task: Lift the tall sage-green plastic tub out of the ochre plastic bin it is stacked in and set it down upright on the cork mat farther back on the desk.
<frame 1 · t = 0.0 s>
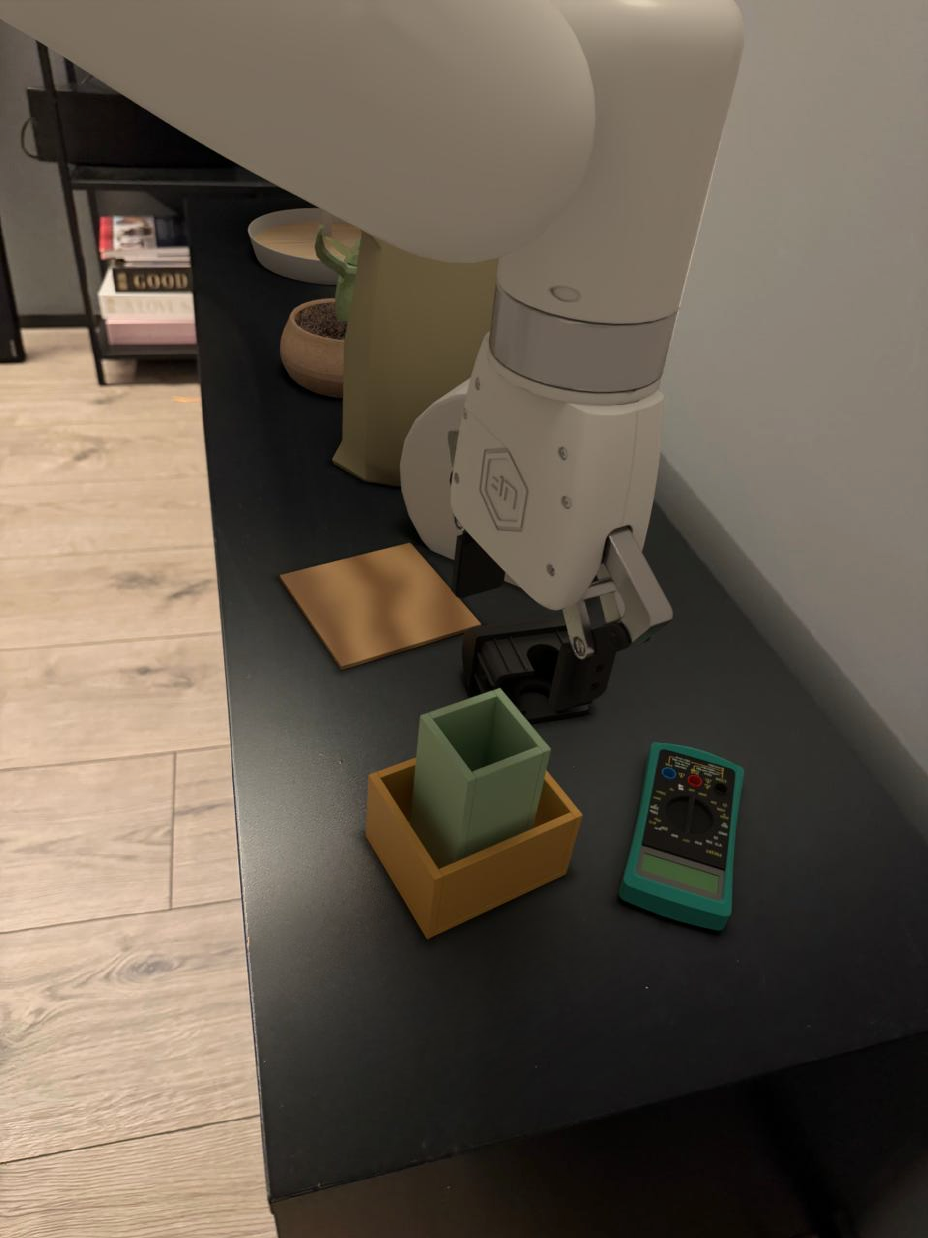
hand: (523, 641, 49), 22 cm above the table, tool pointing down, fingers open, 9 cm apart
sage tub: (466, 849, 65), point 1 cm above the table, touching ochre bin
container: (433, 458, 108), on the table
digital multimeter: (679, 842, 68), on the table
potted plant: (366, 377, 123), on the table
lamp: (331, 259, 157), on the table
cork mat: (378, 603, 86), on the table
alarm clock: (501, 556, 94), on the table
end cap: (524, 695, 79), on the table
ochre bin: (465, 855, 65), on the table
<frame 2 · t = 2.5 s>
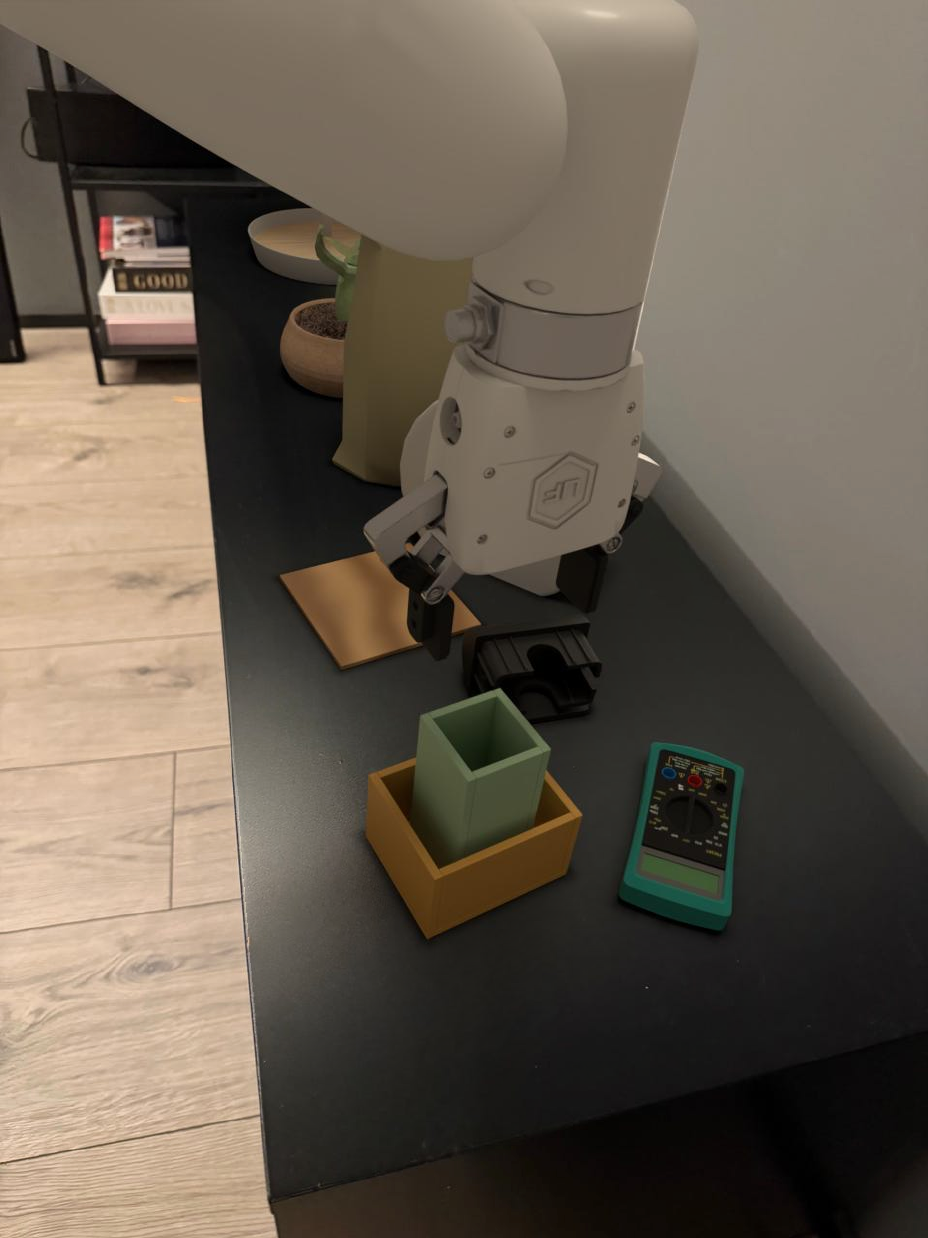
hand: (504, 620, 52), 22 cm above the table, tool pointing down, fingers open, 9 cm apart
nothing on the table moved.
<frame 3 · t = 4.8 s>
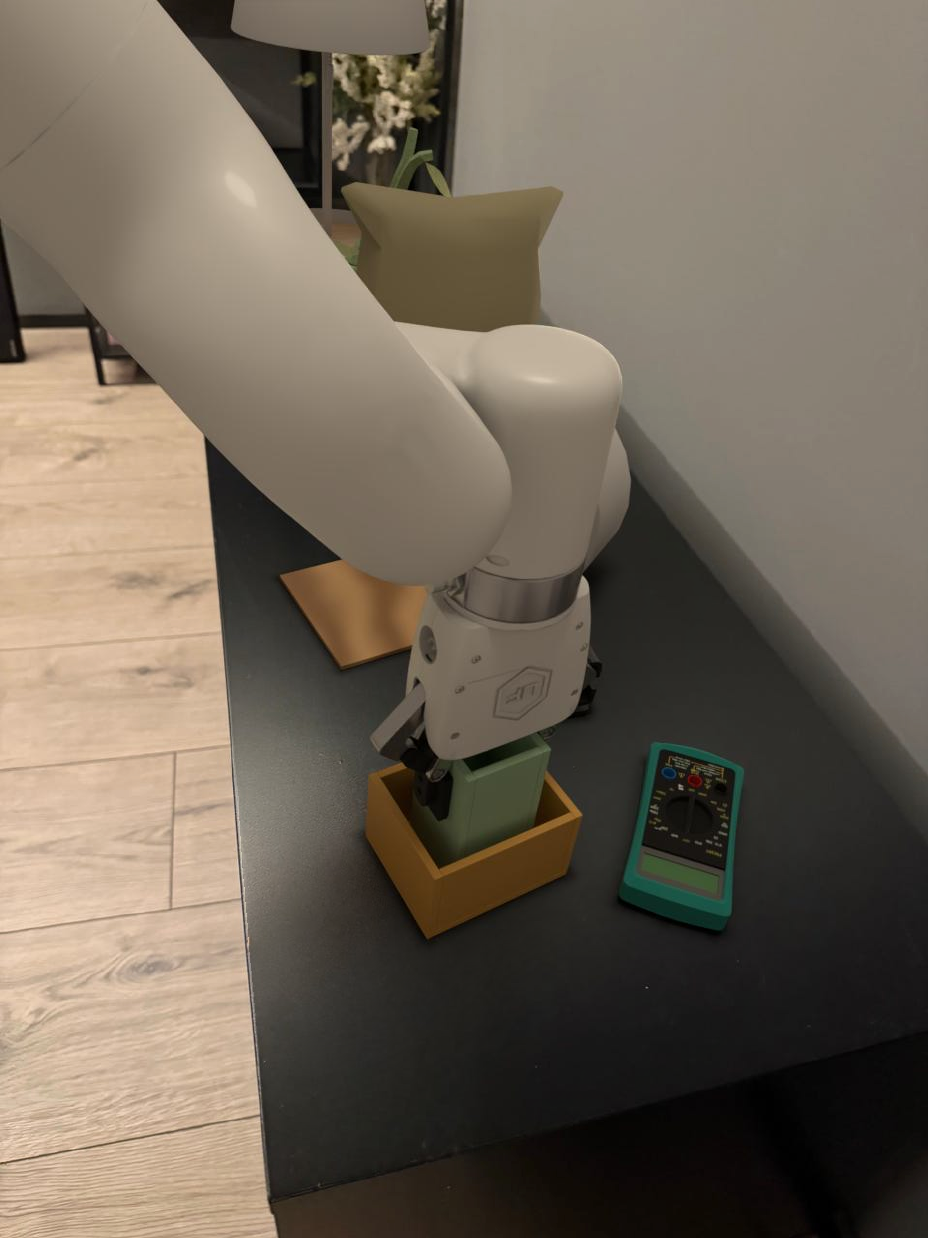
hand: (476, 784, 60), 8 cm above the table, tool pointing down, fingers closed on sage tub, 6 cm apart
sage tub: (466, 849, 65), point 1 cm above the table, touching gripper, ochre bin
everything else where it was.
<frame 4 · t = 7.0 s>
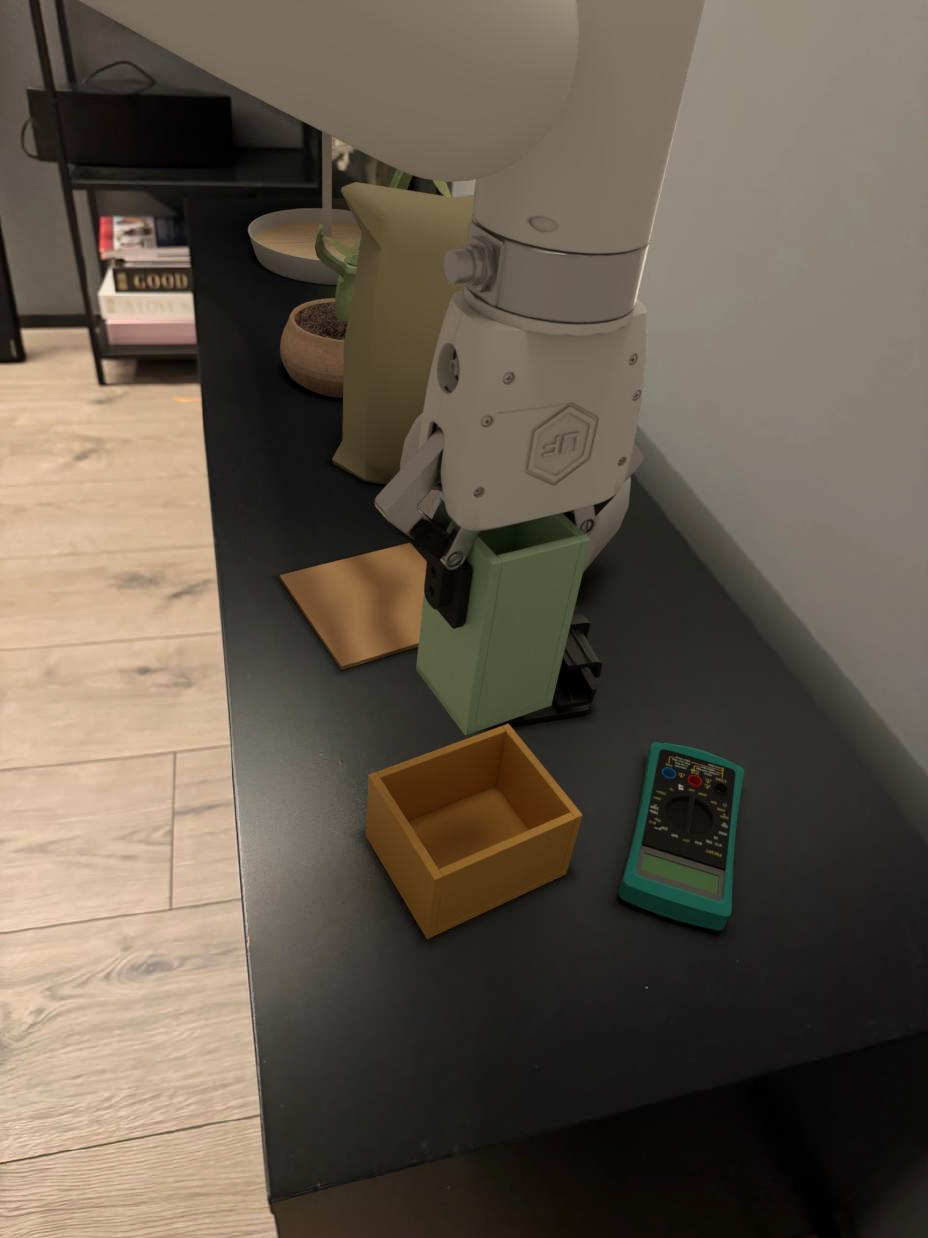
hand: (498, 595, 51), 23 cm above the table, tool pointing down, fingers closed on sage tub, 6 cm apart
sage tub: (482, 687, 55), point 16 cm above the table, touching gripper
everything else where it was.
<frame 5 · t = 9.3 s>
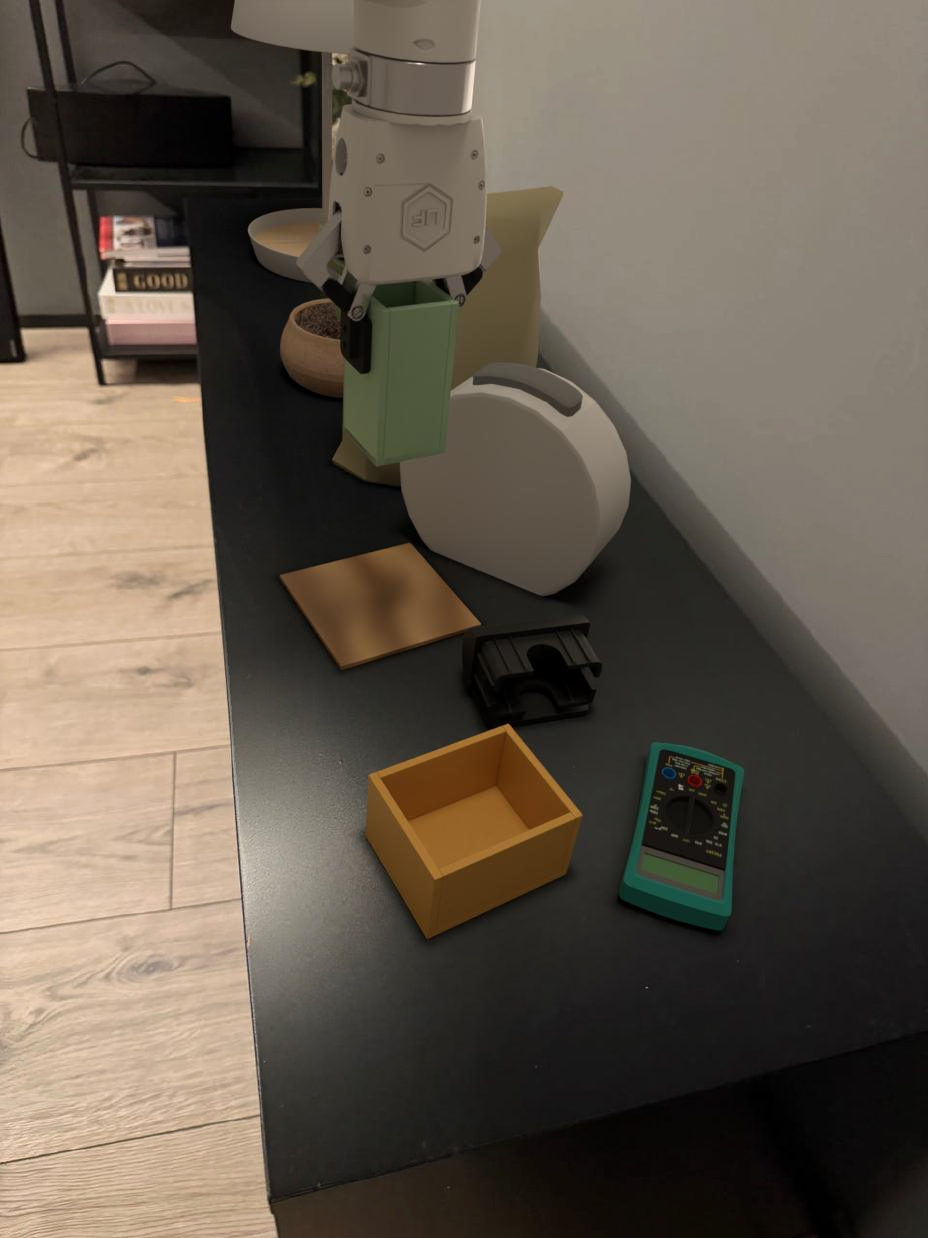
hand: (398, 357, 69), 25 cm above the table, tool pointing down, fingers closed on sage tub, 6 cm apart
sage tub: (393, 441, 73), point 18 cm above the table, touching gripper
everything else where it was.
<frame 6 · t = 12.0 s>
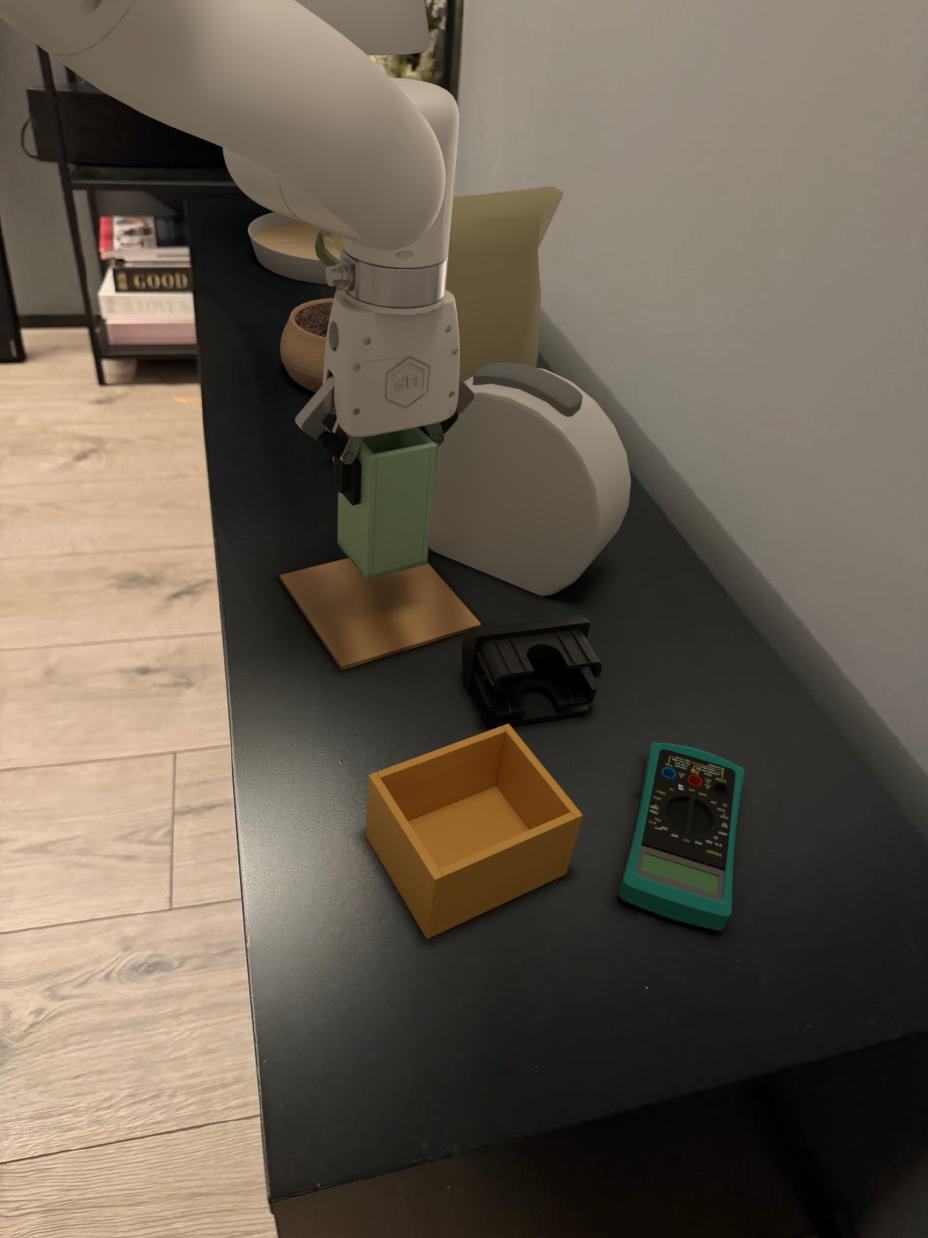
hand: (385, 487, 78), 13 cm above the table, tool pointing down, fingers closed on sage tub, 6 cm apart
sage tub: (381, 553, 83), point 6 cm above the table, touching gripper
everything else where it was.
when the fingers open (7 cm above the table, at t = 13.8 s): sage tub stays where it is, resting on cork mat.
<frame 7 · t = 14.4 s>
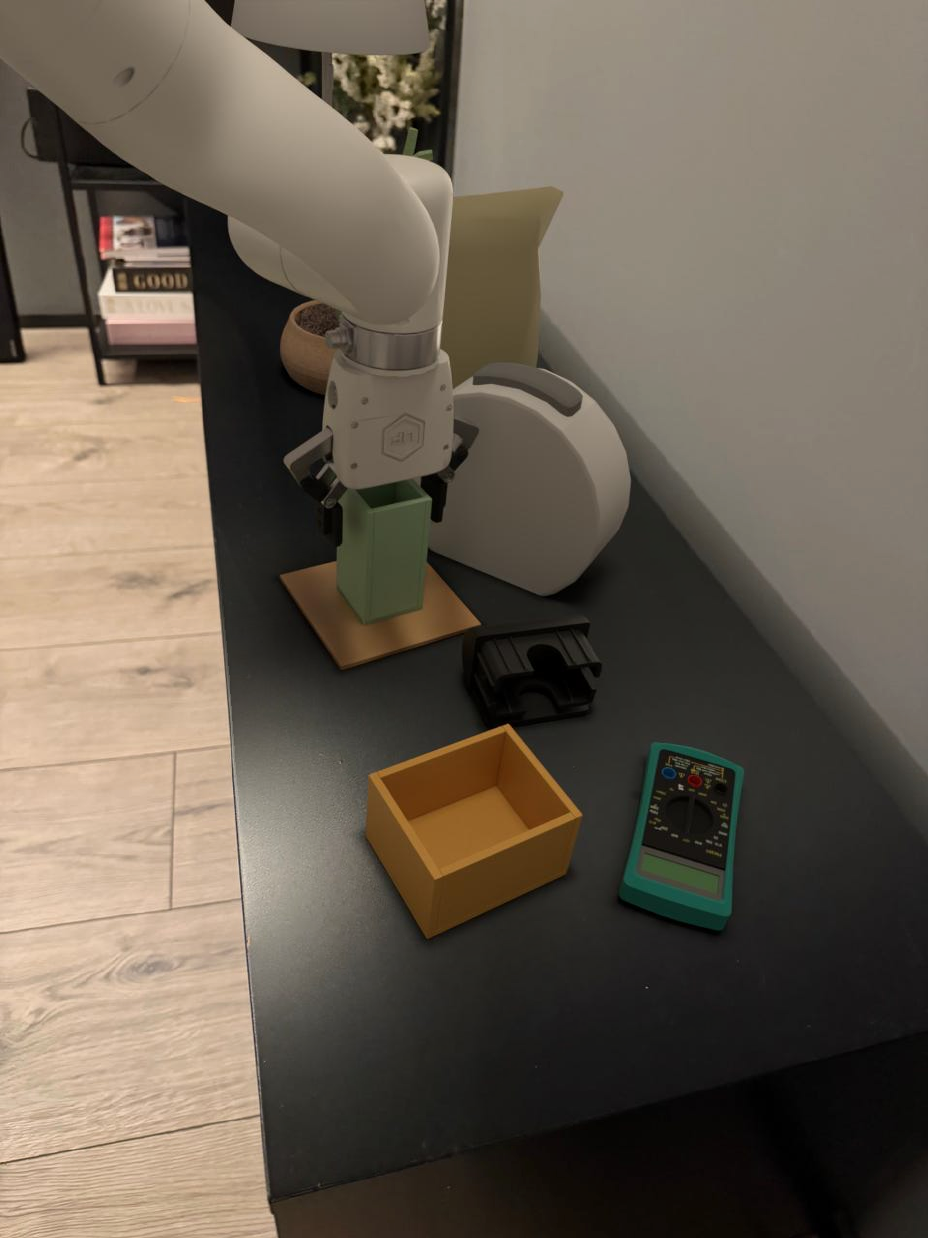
hand: (381, 526, 81), 9 cm above the table, tool pointing down, fingers open, 9 cm apart
sage tub: (379, 598, 86), resting on cork mat
everything else where it was.
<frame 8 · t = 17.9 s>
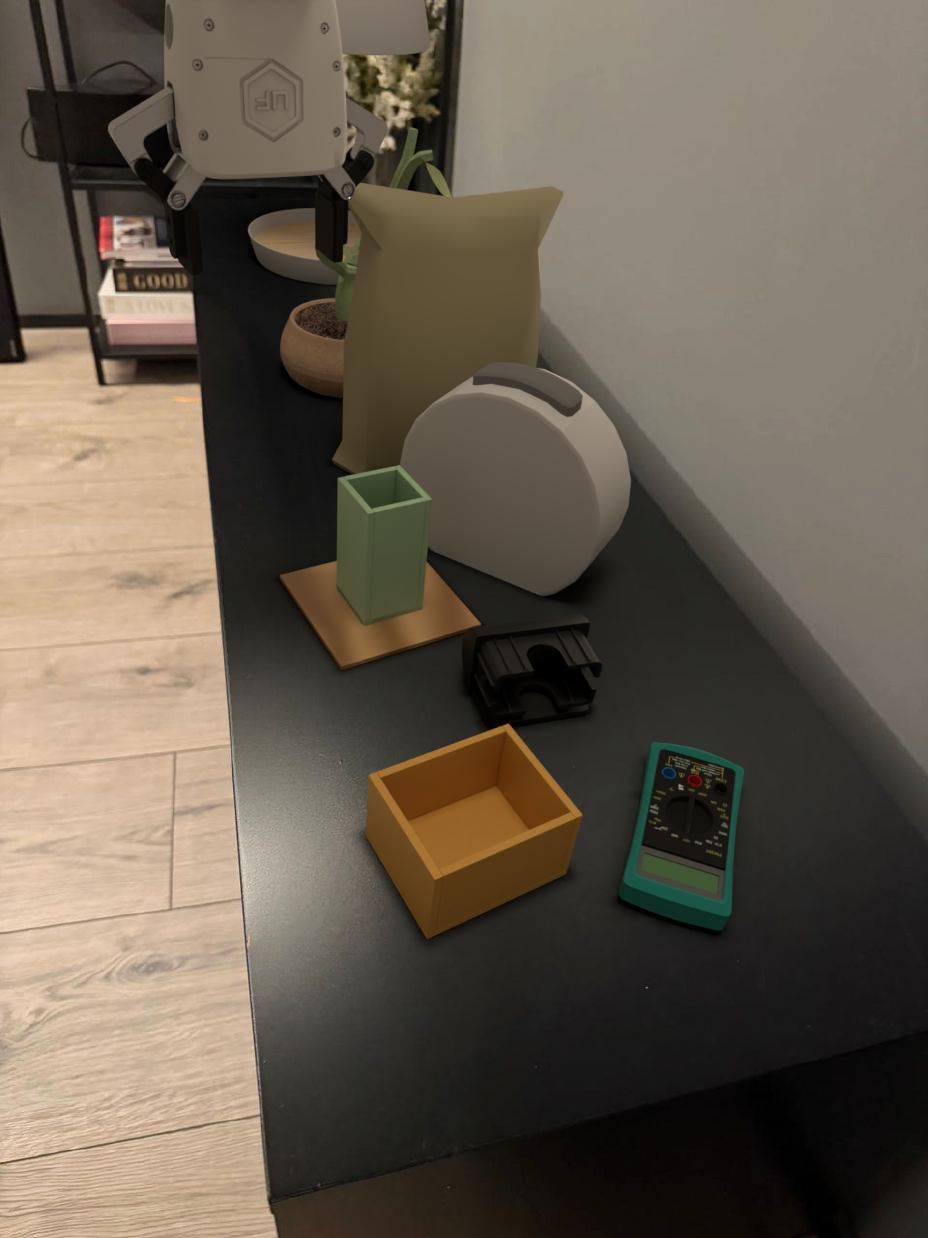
hand: (261, 261, 61), 32 cm above the table, tool pointing down, fingers open, 9 cm apart
nothing on the table moved.
at the end: sage tub inside the target area on the cork mat (0.0 cm from its centre), point 0.5 cm above the cork mat's base; sage tub tilted 0°; sage tub touching cork mat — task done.
